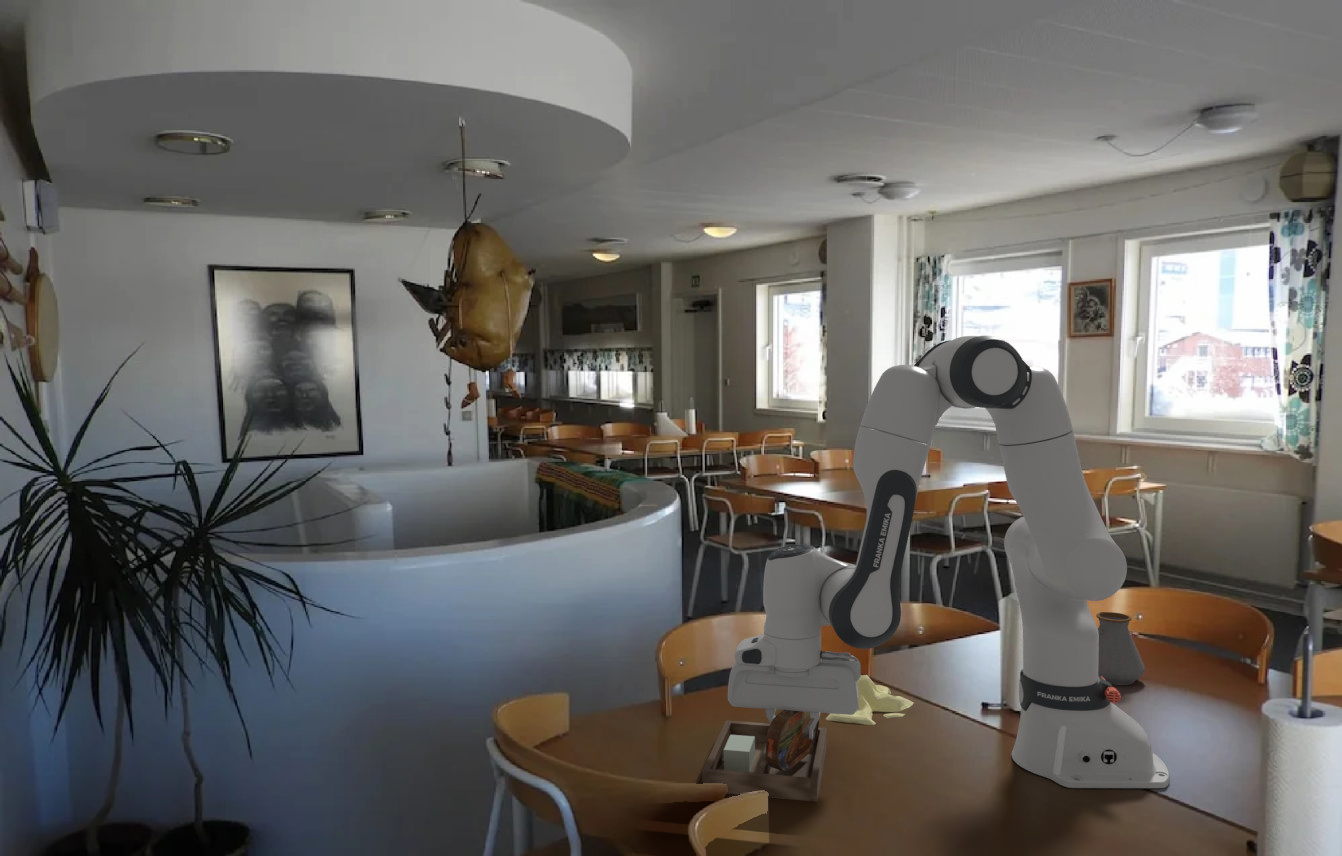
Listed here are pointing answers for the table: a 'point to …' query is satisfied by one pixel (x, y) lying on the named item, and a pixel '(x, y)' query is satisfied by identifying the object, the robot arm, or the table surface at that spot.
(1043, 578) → the robot arm
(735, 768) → the sage block
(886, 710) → the cloth
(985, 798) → the table surface
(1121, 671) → the coffee pot
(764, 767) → the caddy
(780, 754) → the tin
